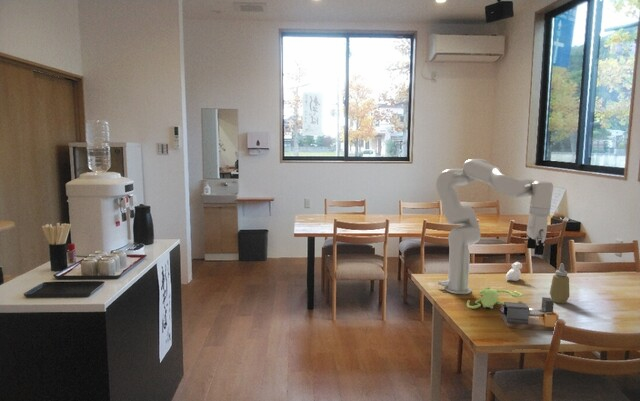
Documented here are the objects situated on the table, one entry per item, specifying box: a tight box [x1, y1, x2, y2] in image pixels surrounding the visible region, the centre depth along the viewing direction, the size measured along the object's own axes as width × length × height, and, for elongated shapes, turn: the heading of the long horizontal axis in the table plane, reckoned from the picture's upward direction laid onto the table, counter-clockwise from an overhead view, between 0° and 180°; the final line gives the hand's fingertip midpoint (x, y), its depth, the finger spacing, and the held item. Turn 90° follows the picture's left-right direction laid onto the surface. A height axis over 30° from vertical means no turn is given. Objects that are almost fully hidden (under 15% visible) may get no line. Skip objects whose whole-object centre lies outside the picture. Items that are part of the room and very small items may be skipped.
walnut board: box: [501, 315, 555, 332], centre depth 168 cm, size 19×9×1 cm, turn 82°
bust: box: [505, 261, 523, 282], centre depth 224 cm, size 12×8×11 cm
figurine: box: [466, 286, 523, 314], centre depth 190 cm, size 18×27×6 cm
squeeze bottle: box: [549, 262, 570, 304], centre depth 193 cm, size 8×8×18 cm
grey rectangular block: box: [529, 297, 555, 318], centre depth 167 cm, size 12×4×7 cm, turn 82°
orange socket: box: [538, 309, 560, 327], centre depth 167 cm, size 4×7×5 cm, turn 172°
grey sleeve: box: [502, 301, 530, 324], centre depth 168 cm, size 8×5×7 cm, turn 82°
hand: (534, 251), depth 176 cm, fingers open, 9 cm apart
